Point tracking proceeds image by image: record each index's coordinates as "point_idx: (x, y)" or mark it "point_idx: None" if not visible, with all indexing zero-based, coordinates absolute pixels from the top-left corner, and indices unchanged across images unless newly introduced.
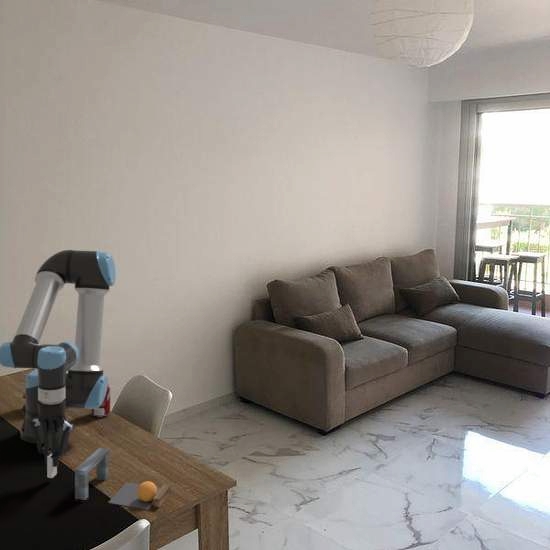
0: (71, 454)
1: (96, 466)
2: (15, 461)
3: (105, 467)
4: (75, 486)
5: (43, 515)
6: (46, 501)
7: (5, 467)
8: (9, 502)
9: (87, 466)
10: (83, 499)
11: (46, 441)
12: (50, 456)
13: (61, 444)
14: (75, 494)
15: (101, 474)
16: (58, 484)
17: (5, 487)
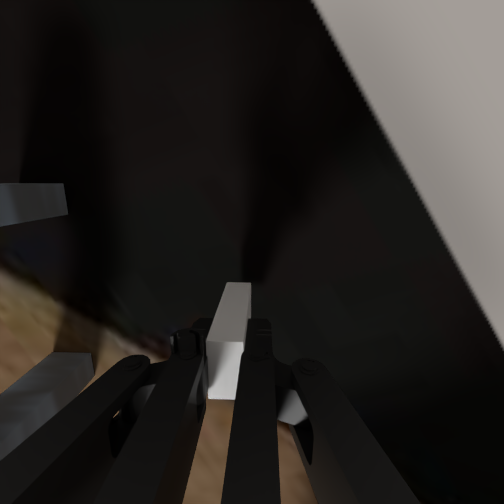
0: (285, 483)
1: (51, 392)
2: (476, 392)
3: (3, 392)
4: (4, 184)
5: (104, 10)
6: (167, 133)
7: (495, 341)
8: (323, 68)
9: None
10: (16, 183)
11: (241, 461)
12: (223, 351)
13: (48, 445)
14: (41, 184)
15: (53, 367)
16: (203, 278)
17: (412, 189)
